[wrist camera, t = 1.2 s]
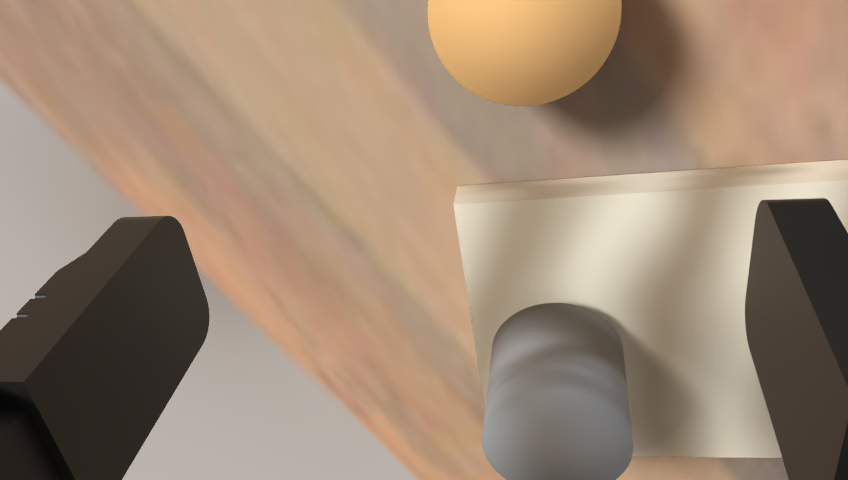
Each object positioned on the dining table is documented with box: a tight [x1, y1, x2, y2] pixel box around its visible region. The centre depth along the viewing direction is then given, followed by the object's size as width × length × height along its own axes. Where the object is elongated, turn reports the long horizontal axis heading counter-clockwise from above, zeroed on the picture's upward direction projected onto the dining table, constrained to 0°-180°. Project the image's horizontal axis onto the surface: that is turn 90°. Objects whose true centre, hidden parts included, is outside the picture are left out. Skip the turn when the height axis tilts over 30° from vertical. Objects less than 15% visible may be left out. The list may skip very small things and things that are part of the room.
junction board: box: [454, 160, 848, 480], centre depth 30 cm, size 17×14×7 cm
